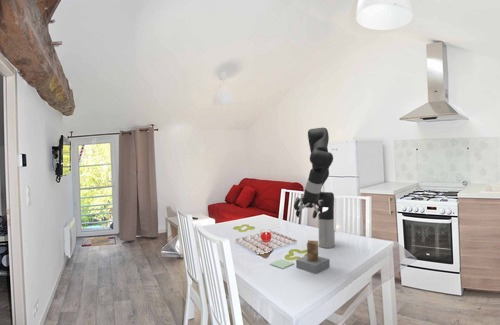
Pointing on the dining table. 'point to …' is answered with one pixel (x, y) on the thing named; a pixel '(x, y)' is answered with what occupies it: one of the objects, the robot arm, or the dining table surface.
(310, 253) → the walnut block
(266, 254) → the wooden fragment
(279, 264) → the mat
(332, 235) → the robot arm
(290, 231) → the dining table surface
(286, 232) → the dining table surface
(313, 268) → the gray square slab
